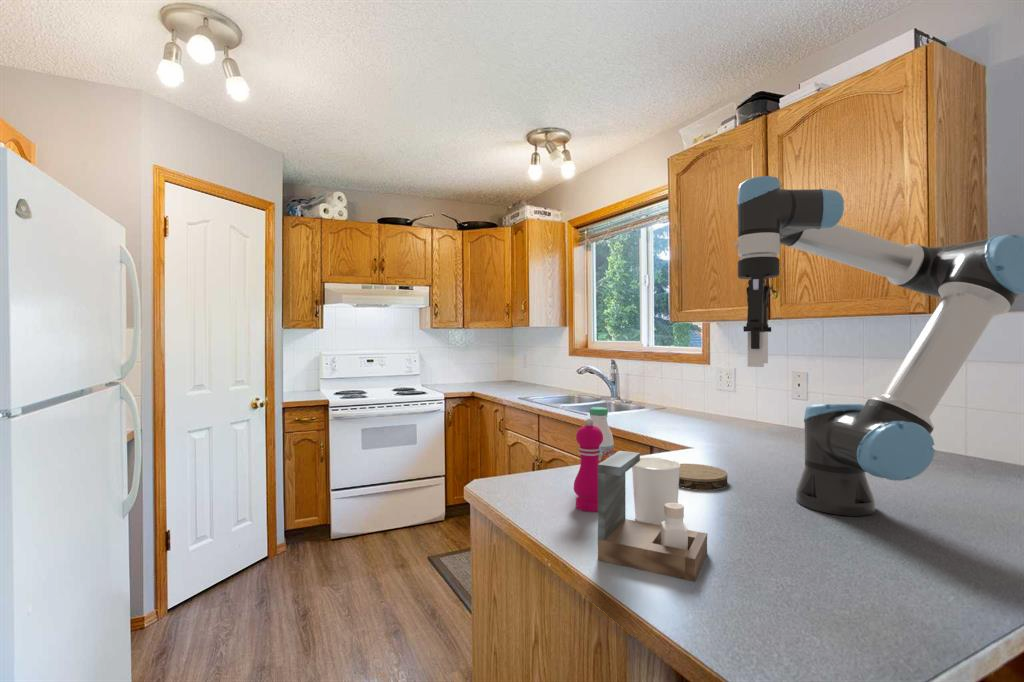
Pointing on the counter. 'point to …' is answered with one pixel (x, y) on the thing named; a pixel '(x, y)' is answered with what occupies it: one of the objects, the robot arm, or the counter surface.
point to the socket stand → (638, 529)
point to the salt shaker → (674, 527)
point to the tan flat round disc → (702, 477)
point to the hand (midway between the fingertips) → (758, 365)
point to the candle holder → (654, 488)
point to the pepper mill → (588, 467)
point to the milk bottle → (603, 431)
